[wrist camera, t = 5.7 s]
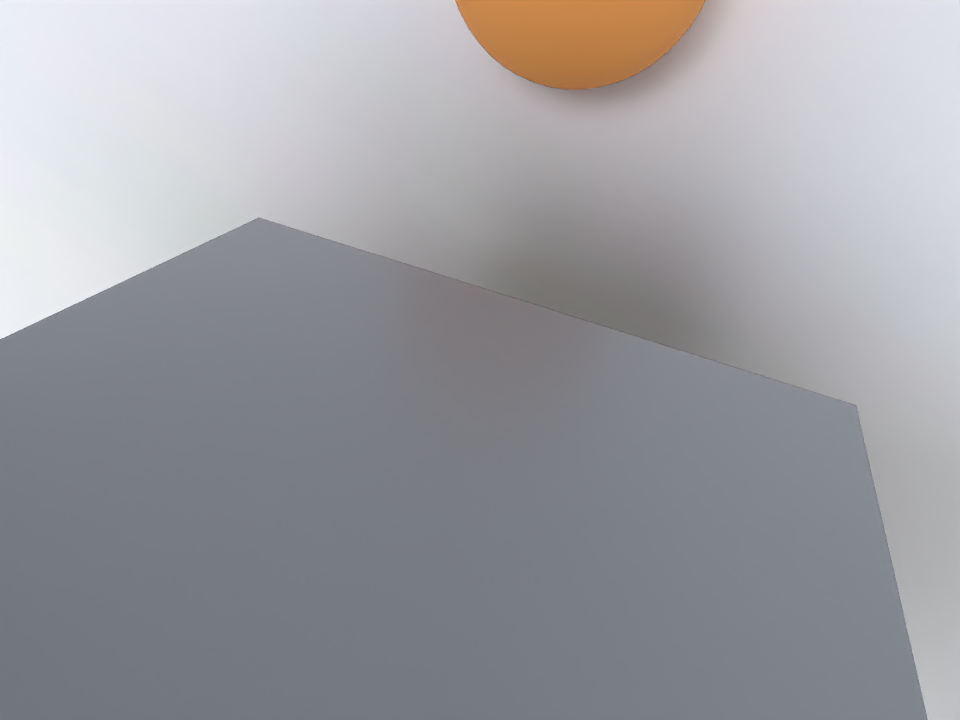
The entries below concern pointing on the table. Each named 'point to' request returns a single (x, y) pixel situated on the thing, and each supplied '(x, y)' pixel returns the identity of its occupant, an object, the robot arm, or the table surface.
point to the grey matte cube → (421, 510)
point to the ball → (578, 36)
